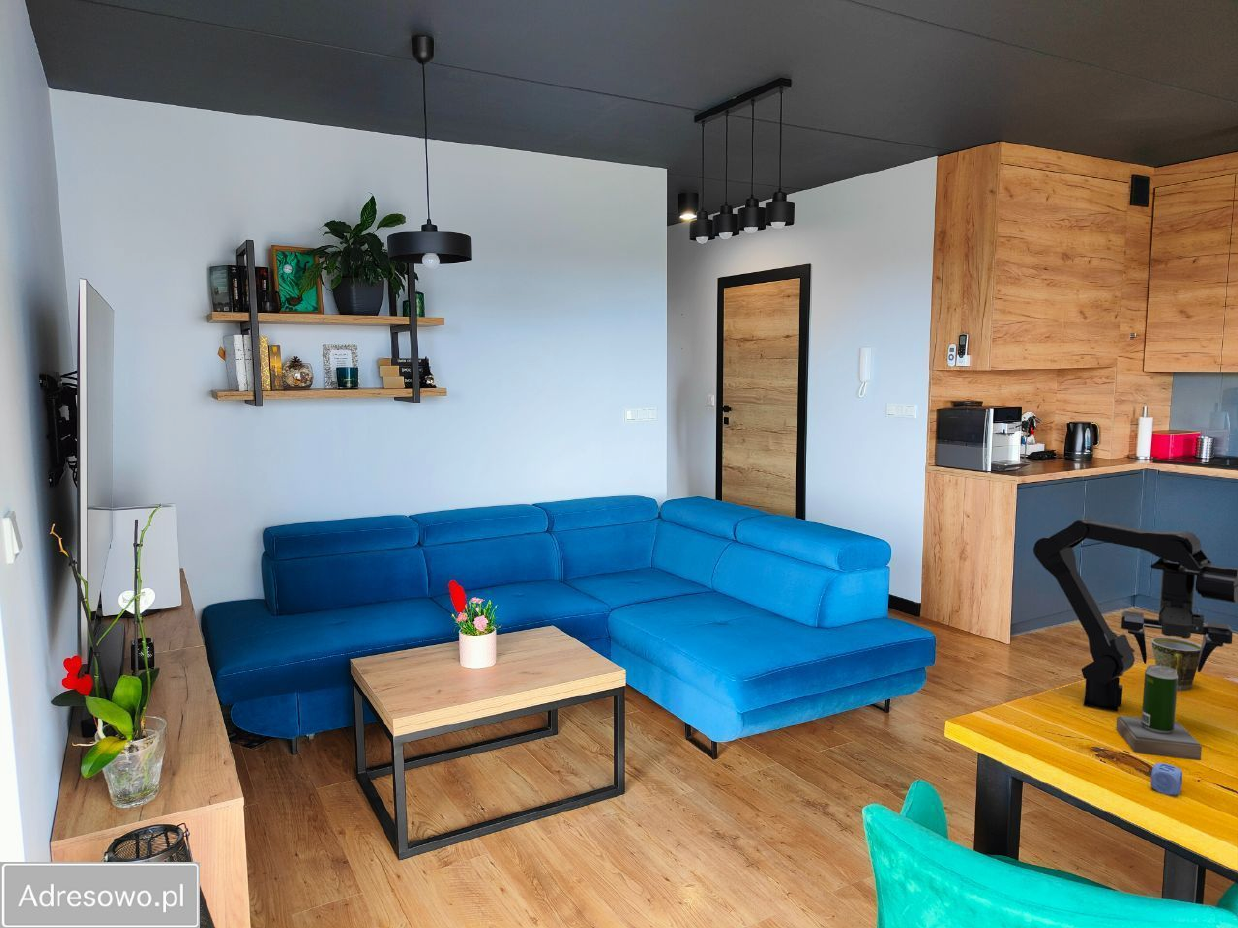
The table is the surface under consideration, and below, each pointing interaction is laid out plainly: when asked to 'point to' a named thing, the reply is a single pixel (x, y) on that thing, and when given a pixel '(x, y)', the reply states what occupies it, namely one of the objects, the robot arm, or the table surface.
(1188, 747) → the gray plinth
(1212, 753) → the table surface
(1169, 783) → the decorative dice
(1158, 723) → the beer can
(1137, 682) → the table surface
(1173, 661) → the ceramic cup
